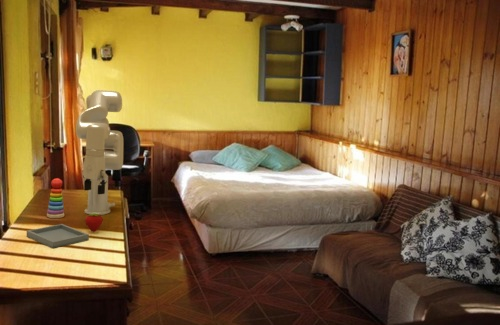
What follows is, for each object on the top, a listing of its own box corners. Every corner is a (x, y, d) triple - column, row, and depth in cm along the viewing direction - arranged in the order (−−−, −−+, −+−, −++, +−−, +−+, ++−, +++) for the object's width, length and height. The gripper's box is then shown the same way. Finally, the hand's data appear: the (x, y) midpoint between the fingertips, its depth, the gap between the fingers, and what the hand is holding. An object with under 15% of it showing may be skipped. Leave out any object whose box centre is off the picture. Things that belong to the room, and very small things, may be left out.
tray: (61, 229, 211) (61, 223, 210) (88, 240, 199) (88, 234, 199) (26, 236, 198) (26, 230, 198) (53, 248, 186) (53, 242, 186)
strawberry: (84, 230, 212) (84, 208, 210) (102, 229, 214) (102, 208, 213) (84, 234, 206) (85, 211, 205) (103, 233, 209) (103, 211, 207)
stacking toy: (58, 219, 225) (58, 180, 223) (43, 217, 227) (43, 179, 224) (67, 215, 233) (68, 178, 230) (53, 213, 234) (53, 176, 232)
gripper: (75, 151, 207) (75, 189, 210) (99, 156, 197) (99, 196, 199) (90, 150, 213) (90, 187, 215) (115, 155, 203) (113, 194, 205)
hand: (94, 192), depth 207 cm, fingers open, 9 cm apart
